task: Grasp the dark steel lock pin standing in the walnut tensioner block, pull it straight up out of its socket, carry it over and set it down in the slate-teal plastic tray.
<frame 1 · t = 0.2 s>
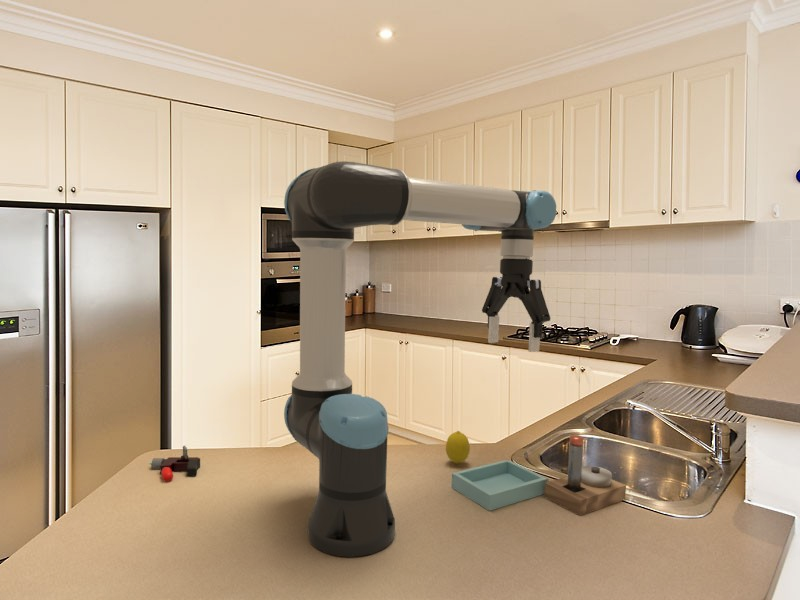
hand: (512, 346, 128), 28 cm above the counter, fingers open, 13 cm apart
lock pin: (573, 502, 108), resting in tensioner block
tensioner block: (584, 498, 110), on the counter
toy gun: (170, 475, 117), on the counter
lemon: (457, 464, 126), on the counter
tray: (498, 490, 113), on the counter
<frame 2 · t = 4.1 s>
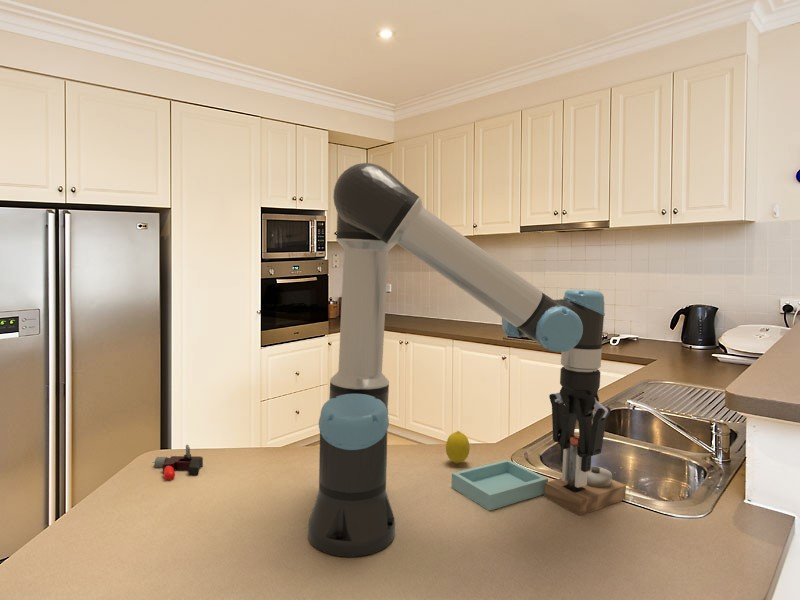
hand: (574, 482, 108), 4 cm above the counter, fingers closed on lock pin, 2 cm apart
lock pin: (573, 502, 108), resting in tensioner block, touching gripper
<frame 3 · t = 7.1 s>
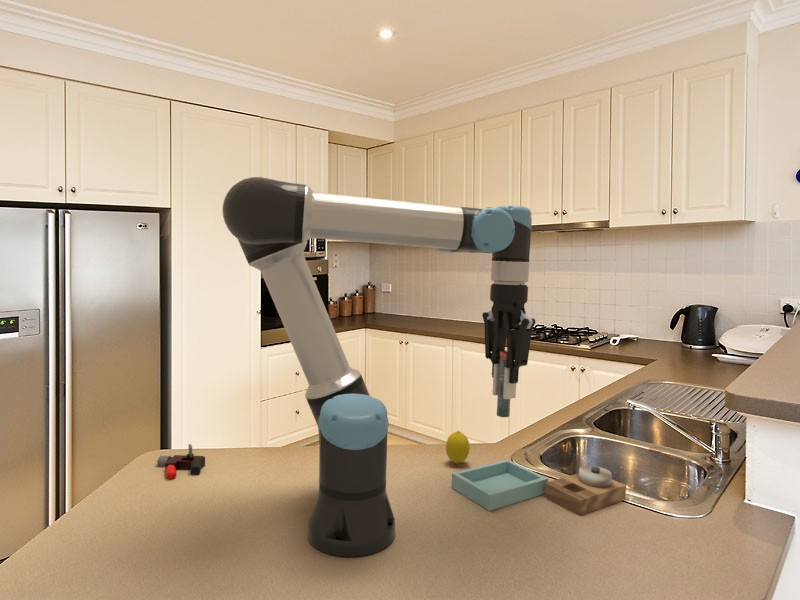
hand: (503, 396, 111), 20 cm above the counter, fingers closed on lock pin, 2 cm apart
lock pin: (503, 415, 111), point 16 cm above the counter, touching gripper
when the fingers open (6 cm above the counter, at t = 10.4 s): lock pin stays where it is, resting on tray.
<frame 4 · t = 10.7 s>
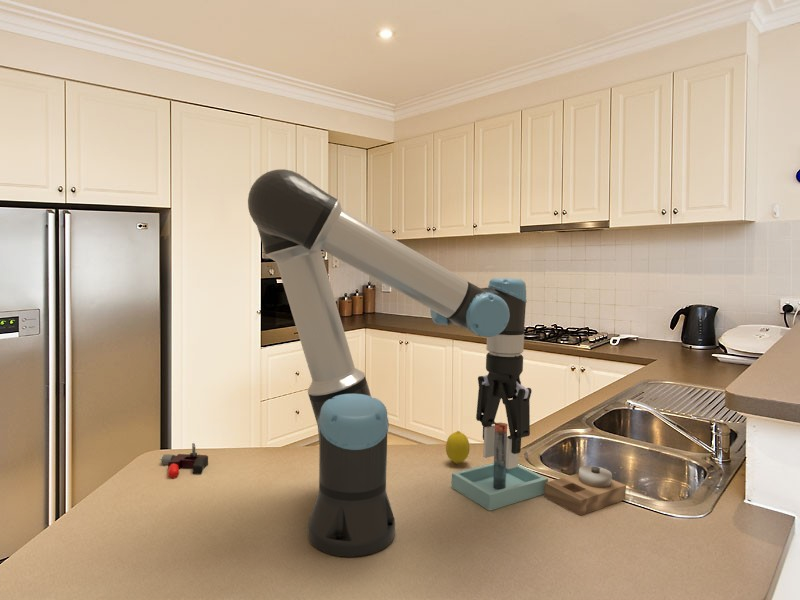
hand: (500, 461, 112), 6 cm above the counter, fingers open, 6 cm apart
lock pin: (499, 487, 113), point 1 cm above the counter, touching tray
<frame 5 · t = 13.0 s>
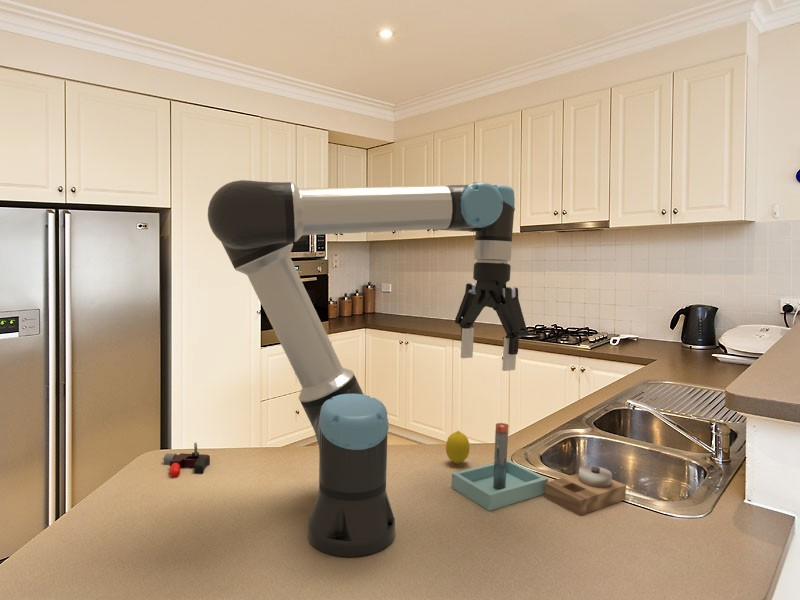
hand: (486, 363, 112), 27 cm above the counter, fingers open, 13 cm apart
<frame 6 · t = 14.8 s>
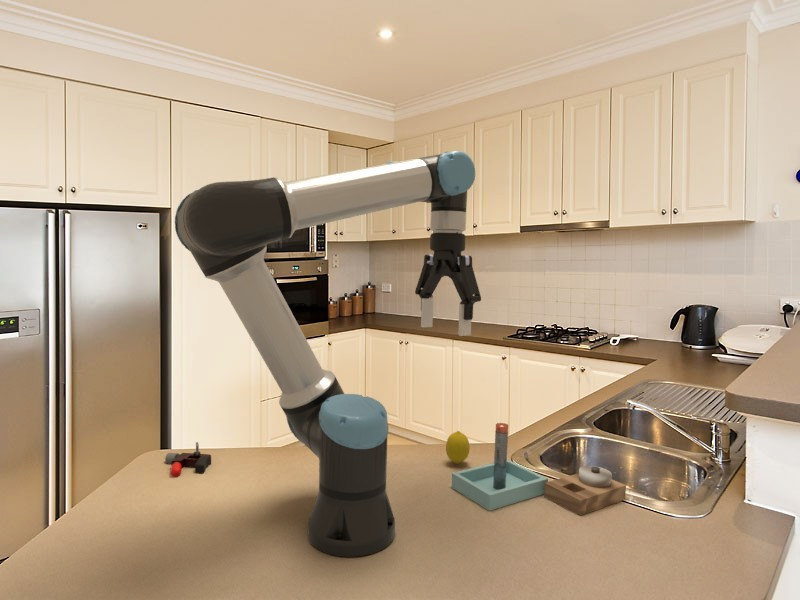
hand: (444, 331, 116), 33 cm above the counter, fingers open, 13 cm apart
at the end: lock pin inside the target area on the tray (0.1 cm from its centre), point 0.6 cm above the tray's base; the gripper is holding nothing; lock pin touching tray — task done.
